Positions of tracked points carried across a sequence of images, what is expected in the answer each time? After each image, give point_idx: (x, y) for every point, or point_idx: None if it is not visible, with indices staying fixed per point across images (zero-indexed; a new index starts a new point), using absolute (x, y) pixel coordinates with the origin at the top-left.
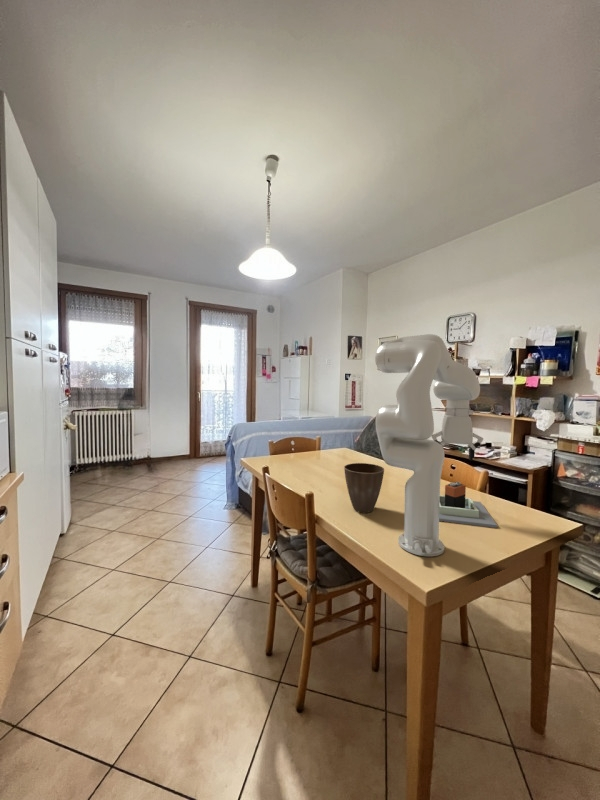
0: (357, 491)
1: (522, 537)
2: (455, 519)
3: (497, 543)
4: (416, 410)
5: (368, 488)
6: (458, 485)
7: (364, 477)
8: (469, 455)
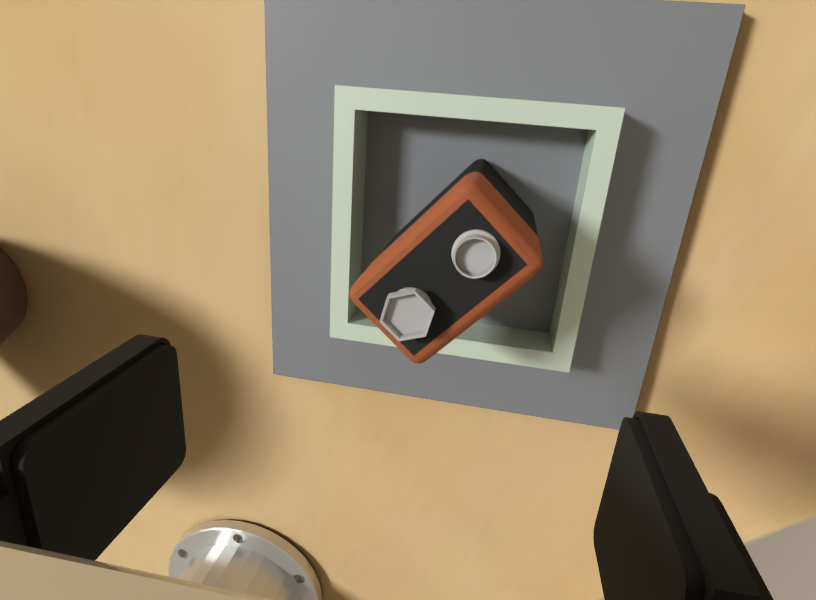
0: None
1: None
2: (420, 388)
3: (544, 554)
4: None
5: None
6: (464, 296)
7: None
8: (626, 520)
